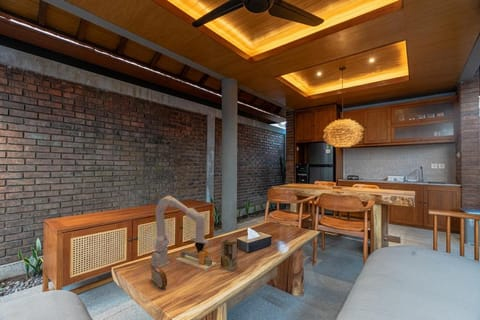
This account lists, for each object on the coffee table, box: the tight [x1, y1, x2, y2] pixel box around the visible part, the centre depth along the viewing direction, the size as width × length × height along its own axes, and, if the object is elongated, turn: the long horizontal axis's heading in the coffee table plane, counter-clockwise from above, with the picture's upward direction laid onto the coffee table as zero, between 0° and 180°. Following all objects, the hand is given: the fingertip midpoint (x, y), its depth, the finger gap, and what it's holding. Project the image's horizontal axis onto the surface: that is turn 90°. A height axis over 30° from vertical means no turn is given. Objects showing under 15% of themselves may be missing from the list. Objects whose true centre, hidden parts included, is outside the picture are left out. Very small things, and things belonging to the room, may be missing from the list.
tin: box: [150, 266, 168, 289], centre depth 119 cm, size 15×3×8 cm, turn 44°
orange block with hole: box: [198, 249, 209, 264], centre depth 144 cm, size 4×5×7 cm
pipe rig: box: [175, 249, 217, 271], centre depth 148 cm, size 27×10×6 cm, turn 58°
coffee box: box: [220, 239, 239, 272], centre depth 141 cm, size 9×6×16 cm
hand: (199, 253), depth 146 cm, fingers closed
